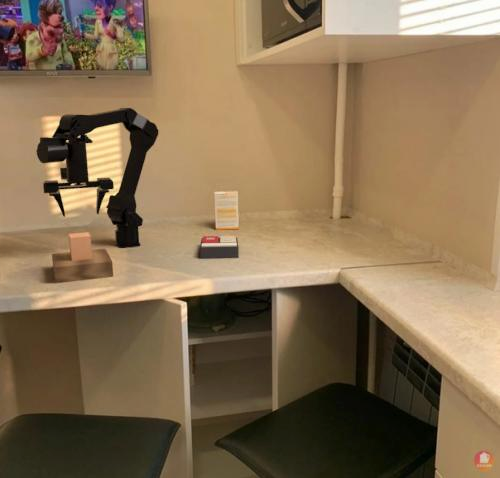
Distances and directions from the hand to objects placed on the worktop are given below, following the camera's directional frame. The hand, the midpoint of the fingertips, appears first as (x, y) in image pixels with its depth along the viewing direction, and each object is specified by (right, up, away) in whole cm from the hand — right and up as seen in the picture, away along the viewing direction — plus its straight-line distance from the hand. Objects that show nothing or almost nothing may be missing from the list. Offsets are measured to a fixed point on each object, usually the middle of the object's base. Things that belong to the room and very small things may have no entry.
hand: (81, 215), depth 158 cm
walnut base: (+4, -16, -13) cm, 21 cm away
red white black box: (+39, -11, +6) cm, 41 cm away
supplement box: (+40, -3, +37) cm, 55 cm away
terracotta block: (+4, -12, -14) cm, 19 cm away
